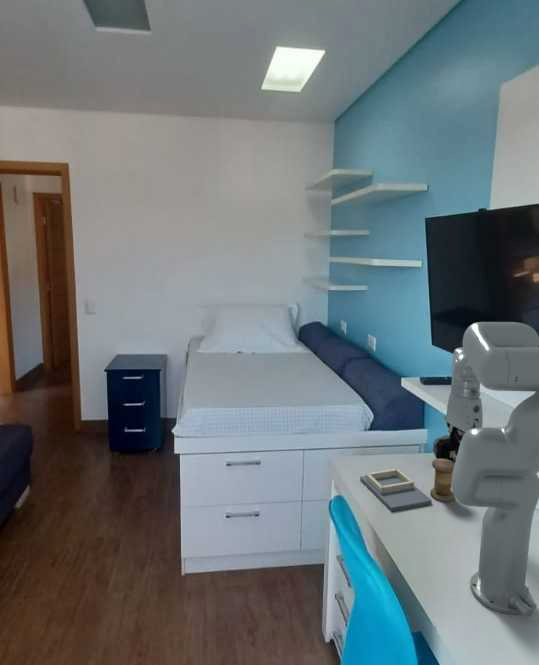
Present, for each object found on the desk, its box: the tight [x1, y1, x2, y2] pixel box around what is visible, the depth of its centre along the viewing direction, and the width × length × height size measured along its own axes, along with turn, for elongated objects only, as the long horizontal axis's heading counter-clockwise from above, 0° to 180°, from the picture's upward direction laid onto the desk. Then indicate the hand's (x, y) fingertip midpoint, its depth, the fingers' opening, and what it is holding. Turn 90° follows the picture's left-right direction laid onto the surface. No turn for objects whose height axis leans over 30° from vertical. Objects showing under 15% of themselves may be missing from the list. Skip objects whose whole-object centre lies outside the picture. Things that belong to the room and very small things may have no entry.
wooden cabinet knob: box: [430, 458, 455, 503], centre depth 147 cm, size 7×7×11 cm
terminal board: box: [359, 468, 432, 512], centre depth 151 cm, size 20×14×3 cm
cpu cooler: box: [432, 434, 460, 463], centre depth 169 cm, size 10×6×10 cm, turn 97°
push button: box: [454, 429, 465, 458], centre depth 137 cm, size 7×5×10 cm
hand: (461, 449), depth 137 cm, fingers closed on push button, 5 cm apart
